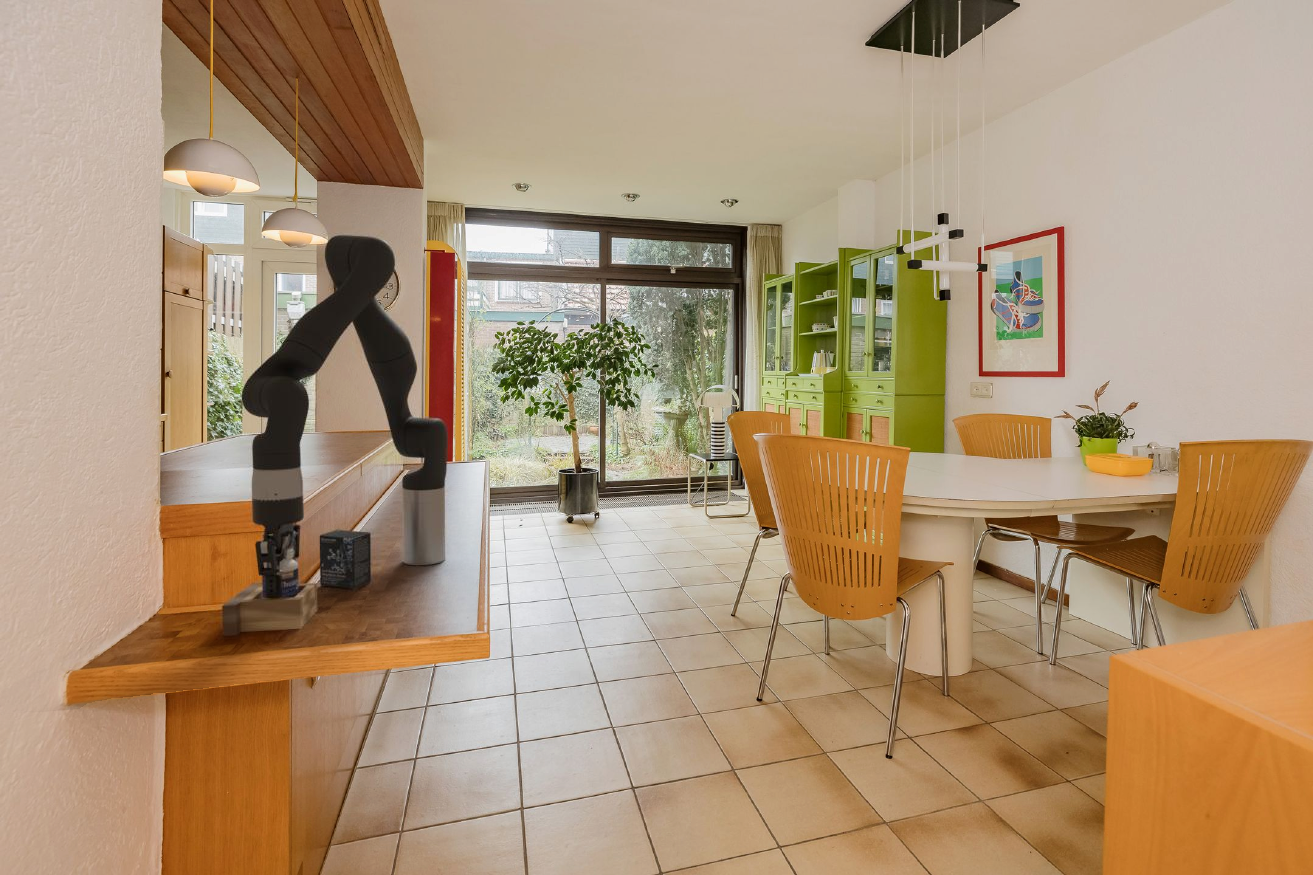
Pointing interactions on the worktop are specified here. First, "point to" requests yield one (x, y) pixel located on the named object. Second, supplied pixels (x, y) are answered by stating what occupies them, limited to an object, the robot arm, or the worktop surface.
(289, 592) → the pill bottle
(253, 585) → the plank
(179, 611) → the worktop surface
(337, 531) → the box
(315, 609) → the light brown wooden tray
